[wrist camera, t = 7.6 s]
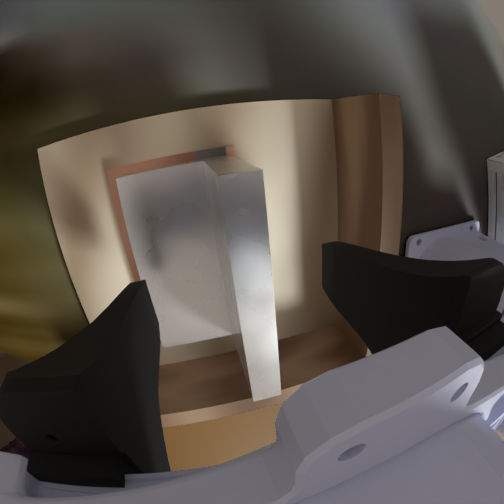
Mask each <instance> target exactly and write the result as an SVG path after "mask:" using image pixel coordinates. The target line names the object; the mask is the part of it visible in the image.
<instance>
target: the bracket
mask: <svg viewBox="0 0 504 504" xmlns="http://www.w3.org/2000/svg"><path fill="white" fill-rule="evenodd" d="M116 182H117V187H118V192H119V197H120V201H121V206H122V210H123V215H124V219H125V223H126V227H127V232H128V236H129V239H130V243H131V247H132V251H133V255H134V258H135V262H136V265H137V269H138V272H139V276H140V279H141V280H146V283H147V287H148V290H149V293H150V296H151V300H152V303H153V306H154V309H155V312H156V315H157V318H158V321H159V329H160V340H161V342H162V345H163V348H165V347H171V346H176V345H182V344H187V343H193V342H198V341H203V340H208V339H213V338H218V337H222V336H227V335H233V339H234V342H235V345H236V348H237V352H238V355H239V358H240V361H241V364H242V368H243V371H244V374H245V377H246V380H247V383H248V386H249V389H250V392H251V395H252V398H253V401H254V402H255V401H259V400H263V399H266V398H270V397H274V396H278V395H281V382H280V368H279V354H278V340H277V327H276V314H275V301H274V289H273V277H272V265H271V253H270V242H269V231H268V220H267V209H266V199H265V188H264V178H263V170H262V169H260V168H258V167H255V166H253V165H251V164H248V163H246V162H244V161H241V160H239V159H236V158H234V157H231V156H229V155H224V156H217V157H210V158H204V159H198V160H192V161H186V162H181V163H175V164H170V165H165V166H160V167H155V168H150V169H146V170H141V171H136V172H132V173H128V174H123V175H120V176H119V177H118V178H116Z"/></svg>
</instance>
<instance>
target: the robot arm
mask: <svg viewBox="0 0 504 504" xmlns="http://www.w3.org/2000/svg"><path fill="white" fill-rule="evenodd" d="M417 241H418V242H417ZM322 288H323V289H324V291H325V293H326V294H327V296H328V298H329V299H330V301H331V302H332V304H333V305H334V306H335V308H336V309H337V310H338V311H339V312H340V314H341V315H342V316H343V317H344V318H345V320H346V321H347V322H348V323H349V324H350V325H351V327H352V328H353V329H354V330H355V331H356V332H357V334H358V335H359V336H360V337H361V339H362V340H363V341H364V343H365V344H366V345H367V347H368V349H369V350H370V352H371V353H372V355H370V356H367V357H365V358H362V359H360V360H357V361H354V362H352V363H349V364H346V365H343V366H341V367H338V368H335V369H332V370H329V371H327V372H325V373H323V374H321V375H320V376H318V377H316V378H314V379H312V380H310V381H308V382H306V383H304V384H302V385H301V386H300V387H299V388H298V389H297V390H296V391H295V392H294V393H293V394H292V395H291V396H290V397H289V398H287V399H286V400H285V401H284V403H283V404H282V405H281V408H280V411H279V414H278V416H277V419H276V422H275V425H276V435H277V439H276V442H274V443H272V444H270V445H268V446H265V447H263V448H261V449H258V450H256V451H253V452H251V453H249V454H246V455H244V456H241V457H238V458H236V459H233V460H230V461H227V462H225V463H222V464H219V465H214V466H208V467H202V468H195V469H188V470H180V471H170V466H169V462H168V457H167V452H166V447H165V442H164V437H163V429H162V422H161V415H160V405H159V390H158V387H159V364H160V344H161V343H160V329H159V321H158V318H157V315H156V312H155V309H154V306H153V303H152V300H151V296H150V293H149V290H148V287H147V283H146V280H141V281H136V282H131V283H130V284H128V285H127V286H126V287H125V288H124V289H123V290H122V291H121V293H120V294H119V295H118V296H117V297H116V298H115V299H114V300H113V301H112V302H111V303H110V305H109V306H108V307H107V308H106V309H105V310H104V311H103V312H102V313H101V314H100V315H99V316H98V317H97V318H96V319H95V320H94V321H93V322H91V323H90V324H89V325H88V326H87V327H86V328H85V329H83V330H82V331H81V332H80V333H78V334H77V335H76V336H75V337H73V338H72V339H70V340H69V341H67V342H66V343H64V344H63V345H62V346H60V347H59V348H57V349H56V350H54V351H52V352H50V353H49V354H47V355H45V356H43V357H41V358H39V359H38V360H36V361H34V362H31V363H29V364H27V365H25V366H22V367H20V368H17V369H15V370H13V371H10V372H8V373H7V374H6V377H5V379H4V381H3V383H2V386H1V388H0V418H1V420H2V421H3V422H4V424H5V425H6V426H7V427H8V428H9V429H10V430H11V432H12V433H13V434H14V435H15V436H16V437H17V438H18V439H19V440H20V441H21V442H22V443H23V444H24V445H25V446H26V447H27V448H28V449H29V450H31V451H30V456H29V459H28V458H26V457H24V456H22V455H18V454H13V453H7V452H2V451H0V504H504V441H503V440H502V439H501V438H500V436H499V435H498V434H497V433H496V432H495V431H494V430H495V429H496V430H497V431H498V432H500V433H501V434H503V435H504V244H502V243H500V242H498V241H496V240H494V239H492V238H490V237H488V236H486V235H484V234H482V233H479V221H477V220H473V221H469V222H465V223H461V224H457V225H453V226H449V227H445V228H441V229H437V230H433V231H429V232H424V233H420V234H416V235H412V236H410V237H409V238H408V240H407V243H406V252H405V257H403V256H398V255H393V254H389V253H384V252H380V251H376V250H372V249H369V248H365V247H361V246H357V245H353V244H349V243H345V242H338V241H333V242H329V243H324V244H322Z"/></svg>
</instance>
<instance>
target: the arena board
mask: <svg viewBox="0 0 504 504" xmlns="http://www.w3.org/2000/svg"><path fill="white" fill-rule="evenodd" d="M37 150H38V156H39V162H40V168H41V173H42V178H43V183H44V187H45V192H46V196H47V200H48V204H49V208H50V212H51V216H52V220H53V223H54V227H55V230H56V234H57V237H58V240H59V244H60V247H61V250H62V253H63V256H64V259H65V262H66V265H67V268H68V270H69V273H70V276H71V279H72V281H73V284H74V287H75V289H76V292H77V294H78V297H79V299H80V302H81V304H82V307H83V309H84V311H85V314H86V316H87V318H88V320H89V323H91V322H93V321H94V320H95V319H96V318H97V317H98V316H99V315H100V314H101V313H102V312H103V311H104V310H105V309H106V308H107V307H108V306H109V305H110V303H111V302H112V301H113V300H114V299H115V298H116V297H117V296H118V295H119V294H120V293H121V291H122V290H123V289H124V288H125V287H126V286H127V285H128V284H130V283H131V282H136V281H141V279H140V276H139V272H138V269H137V265H136V262H135V258H134V255H133V251H132V247H131V243H130V239H129V236H128V232H127V227H126V223H125V219H124V215H123V210H122V206H121V201H120V197H119V192H118V187H117V182H116V178H118V177H119V176H120V175H123V174H128V173H132V172H136V171H141V170H146V169H150V168H155V167H160V166H165V165H170V164H175V163H181V162H186V161H192V160H198V159H204V158H210V157H217V156H224V155H229V156H231V157H234V158H236V159H239V160H241V161H244V162H246V163H248V164H251V165H253V166H255V167H258V168H260V169H262V170H263V178H264V188H265V199H266V209H267V220H268V231H269V242H270V253H271V265H272V277H273V289H274V301H275V314H276V327H277V340H280V339H284V338H288V337H291V336H295V335H298V334H302V333H306V332H309V331H312V330H316V329H319V328H323V327H326V326H329V325H332V324H335V316H336V308H335V306H334V305H333V304H332V302H331V301H330V299H329V298H328V296H327V294H326V293H325V291H324V289H323V288H322V244H324V243H329V242H333V241H338V194H337V167H336V148H335V133H334V120H333V109H332V99H299V100H273V101H258V102H245V103H235V104H226V105H217V106H209V107H202V108H195V109H189V110H182V111H176V112H171V113H165V114H160V115H155V116H150V117H145V118H141V119H136V120H132V121H128V122H124V123H119V124H116V125H112V126H108V127H104V128H100V129H97V130H93V131H90V132H87V133H83V134H80V135H77V136H74V137H70V138H67V139H64V140H61V141H58V142H55V143H53V144H50V145H47V146H44V147H42V148H39V149H37ZM160 343H161V344H160V364H159V365H165V364H170V363H176V362H182V361H187V360H192V359H197V358H202V357H207V356H212V355H217V354H222V353H226V352H231V351H235V350H237V348H236V345H235V342H234V339H233V335H227V336H222V337H218V338H213V339H208V340H203V341H198V342H193V343H187V344H182V345H176V346H171V347H165V348H163V345H162V342H161V340H160Z"/></svg>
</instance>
